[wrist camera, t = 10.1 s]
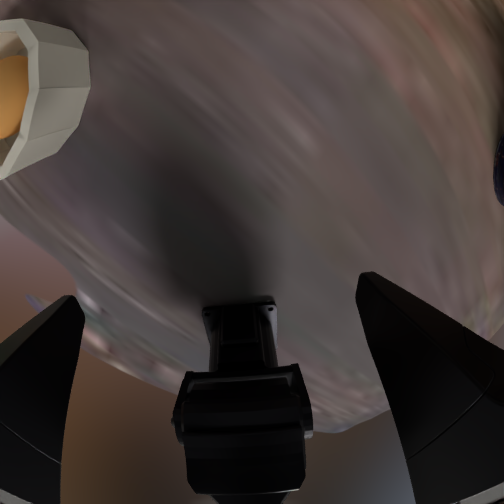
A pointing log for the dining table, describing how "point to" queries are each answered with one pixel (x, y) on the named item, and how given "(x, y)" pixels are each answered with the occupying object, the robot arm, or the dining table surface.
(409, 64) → the dining table surface
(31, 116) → the off-white faceted bowl
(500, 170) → the storage jar
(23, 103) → the ball
